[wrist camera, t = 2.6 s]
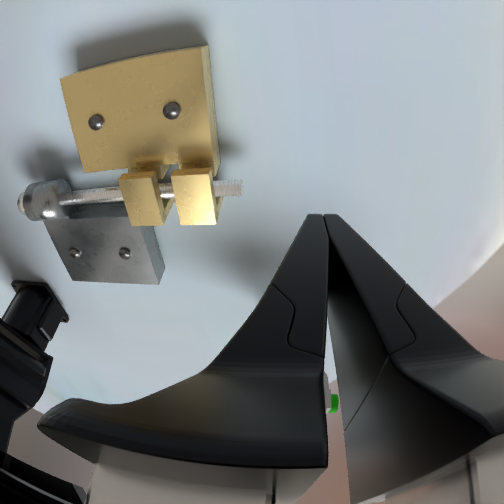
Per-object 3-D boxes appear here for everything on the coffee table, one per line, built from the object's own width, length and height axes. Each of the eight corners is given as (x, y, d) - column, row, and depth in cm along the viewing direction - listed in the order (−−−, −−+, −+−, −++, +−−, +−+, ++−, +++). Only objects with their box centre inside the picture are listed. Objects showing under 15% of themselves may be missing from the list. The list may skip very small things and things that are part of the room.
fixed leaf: (71, 265, 28) (56, 291, 26) (31, 175, 22) (7, 198, 19) (251, 268, 27) (248, 301, 24) (242, 152, 20) (236, 178, 18)
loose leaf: (109, 199, 23) (89, 227, 20) (76, 71, 16) (45, 85, 14) (224, 193, 22) (215, 224, 20) (208, 45, 16) (193, 51, 13)
